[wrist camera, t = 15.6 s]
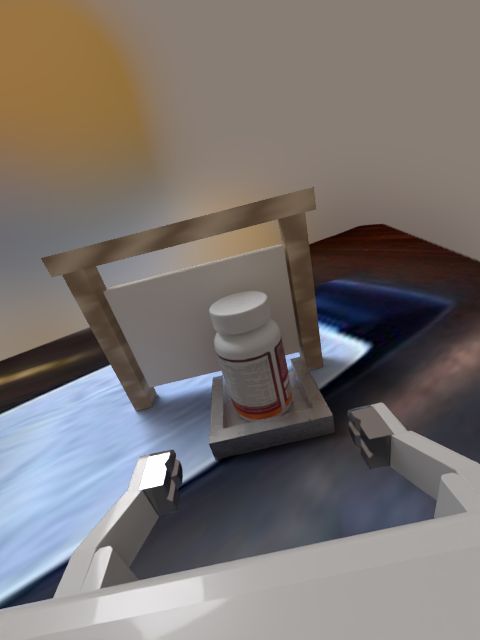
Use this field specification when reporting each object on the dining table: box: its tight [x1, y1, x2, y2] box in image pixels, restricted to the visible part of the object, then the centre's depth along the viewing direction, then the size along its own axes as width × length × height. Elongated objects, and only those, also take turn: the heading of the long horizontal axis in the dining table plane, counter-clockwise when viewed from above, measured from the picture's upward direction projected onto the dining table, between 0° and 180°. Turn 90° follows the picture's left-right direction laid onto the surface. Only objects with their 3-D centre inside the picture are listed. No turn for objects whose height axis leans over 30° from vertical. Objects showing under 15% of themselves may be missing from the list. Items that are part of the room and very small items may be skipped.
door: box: [103, 244, 300, 387], centre depth 27 cm, size 18×3×12 cm, turn 94°
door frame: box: [41, 187, 323, 411], centre depth 26 cm, size 25×2×19 cm, turn 94°
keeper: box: [209, 357, 335, 460], centre depth 25 cm, size 10×9×2 cm
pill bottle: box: [209, 291, 292, 422], centre depth 23 cm, size 6×6×11 cm
